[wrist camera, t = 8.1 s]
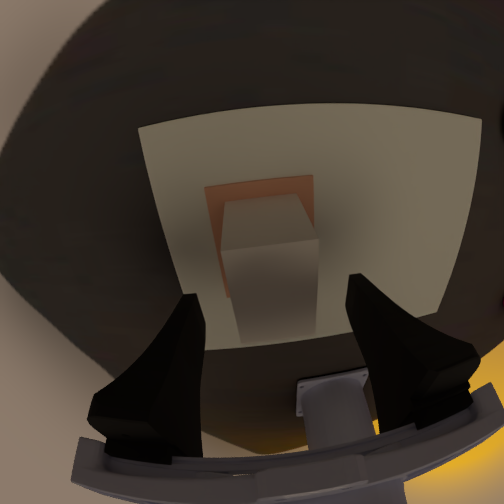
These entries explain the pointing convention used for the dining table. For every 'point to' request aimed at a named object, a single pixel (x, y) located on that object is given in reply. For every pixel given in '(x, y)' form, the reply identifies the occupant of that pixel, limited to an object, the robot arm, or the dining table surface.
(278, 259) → the plain grayish brown block
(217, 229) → the flat orange brown slab
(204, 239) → the mat
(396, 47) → the dining table surface
